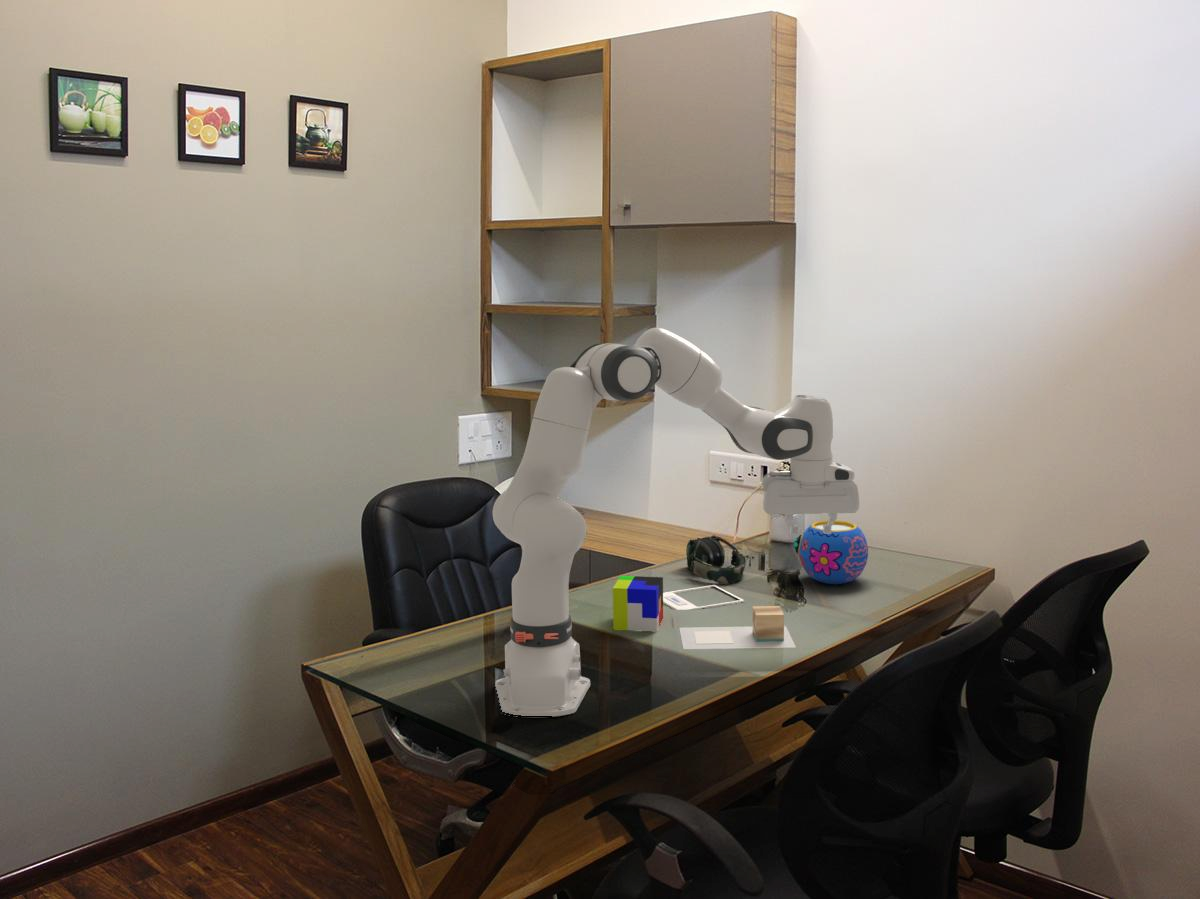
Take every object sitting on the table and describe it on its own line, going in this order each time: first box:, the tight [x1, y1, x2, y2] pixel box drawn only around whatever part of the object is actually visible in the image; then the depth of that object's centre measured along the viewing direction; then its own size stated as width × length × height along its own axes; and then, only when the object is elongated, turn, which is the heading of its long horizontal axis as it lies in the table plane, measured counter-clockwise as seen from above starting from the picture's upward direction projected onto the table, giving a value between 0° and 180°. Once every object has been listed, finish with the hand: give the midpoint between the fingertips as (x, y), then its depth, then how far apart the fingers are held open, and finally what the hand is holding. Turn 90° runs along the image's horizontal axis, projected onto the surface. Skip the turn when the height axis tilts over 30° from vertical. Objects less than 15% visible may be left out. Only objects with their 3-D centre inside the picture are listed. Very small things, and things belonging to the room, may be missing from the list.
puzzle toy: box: [612, 575, 664, 632], centre depth 254 cm, size 10×10×10 cm
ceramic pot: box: [793, 520, 869, 585], centre depth 283 cm, size 18×18×15 cm
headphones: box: [685, 534, 747, 585], centre depth 292 cm, size 13×13×20 cm
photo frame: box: [663, 584, 745, 611], centre depth 272 cm, size 15×1×18 cm
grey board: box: [678, 625, 797, 650], centre depth 241 cm, size 14×24×1 cm, turn 90°
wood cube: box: [752, 605, 785, 642], centre depth 241 cm, size 6×6×6 cm
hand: (810, 533), depth 237 cm, fingers open, 6 cm apart
